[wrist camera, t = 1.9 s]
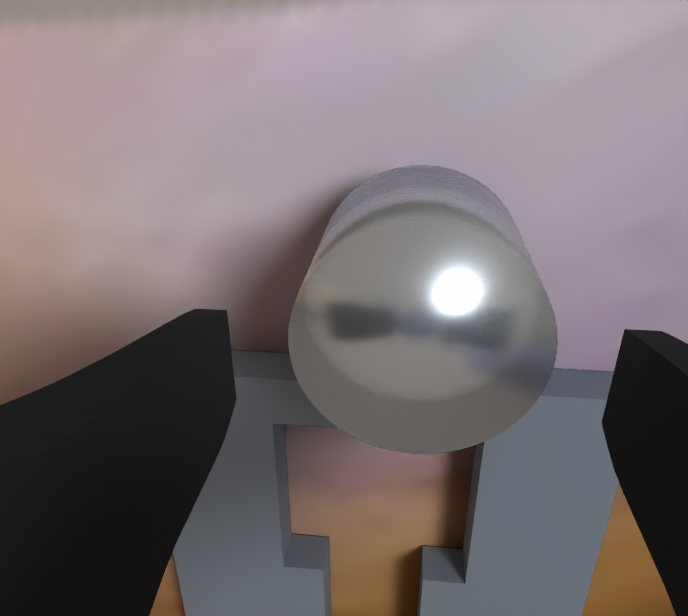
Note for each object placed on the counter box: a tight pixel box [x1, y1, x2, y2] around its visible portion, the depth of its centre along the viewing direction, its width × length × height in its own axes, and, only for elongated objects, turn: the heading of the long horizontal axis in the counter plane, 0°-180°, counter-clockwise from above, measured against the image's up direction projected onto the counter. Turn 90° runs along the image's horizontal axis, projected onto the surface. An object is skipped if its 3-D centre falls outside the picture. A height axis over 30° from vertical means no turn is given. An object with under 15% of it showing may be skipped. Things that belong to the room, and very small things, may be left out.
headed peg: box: [288, 165, 558, 454], centre depth 14 cm, size 5×5×6 cm
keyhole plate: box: [173, 350, 619, 616], centre depth 22 cm, size 15×18×2 cm
